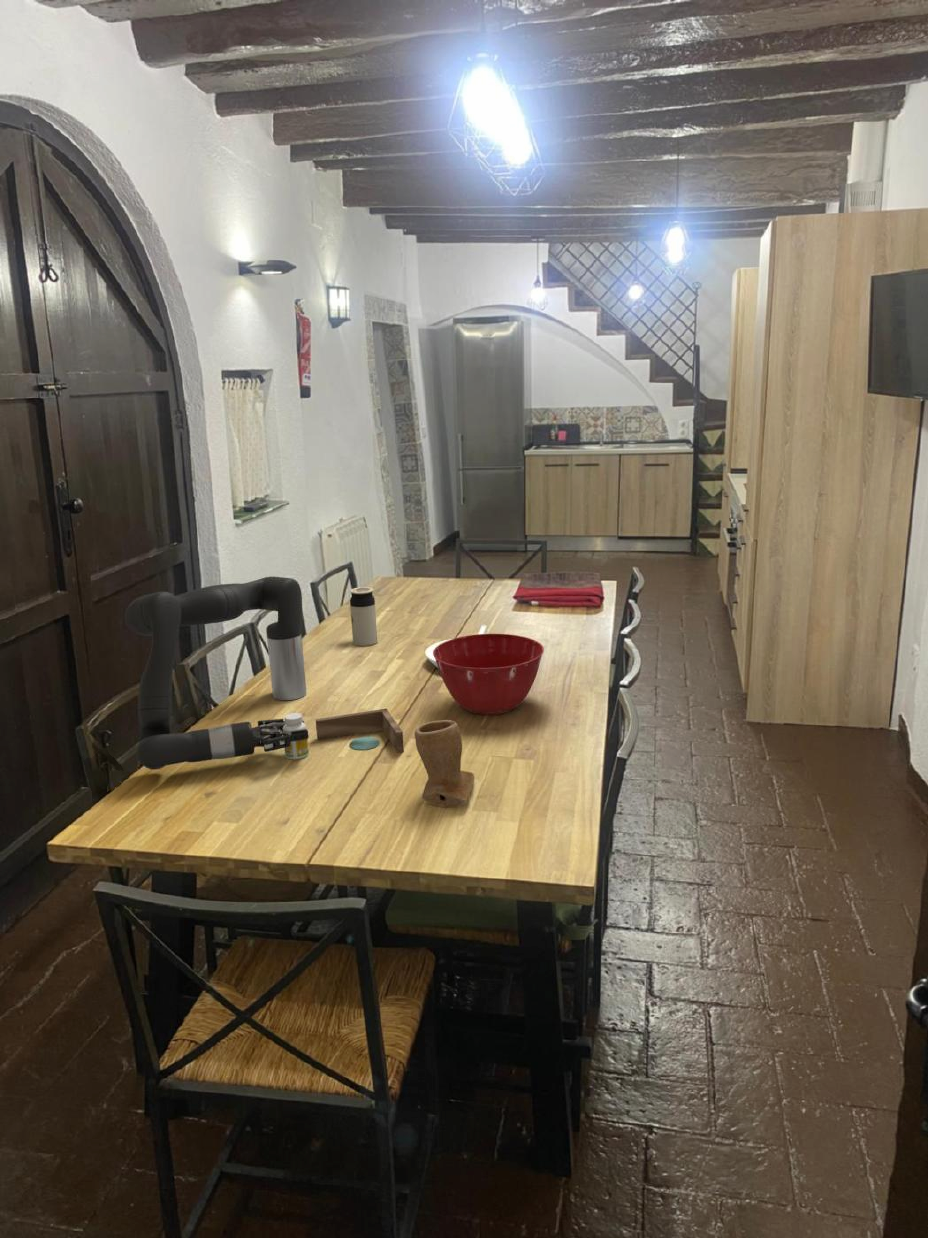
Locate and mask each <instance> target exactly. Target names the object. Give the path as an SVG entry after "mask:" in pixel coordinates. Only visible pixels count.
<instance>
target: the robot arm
mask: <svg viewBox="0 0 928 1238" xmlns="http://www.w3.org/2000/svg"><path fill="white" fill-rule="evenodd" d="M253 610H254V611H255V610H263V611H264V610H265V611H273V612H277V621H274V622H273V623H270V624H269V625H267V627H266V630H265V631H266V641H267V642H266V643H267V651H268V659H269V661H268V663H269V670H270V671H269V672H270V680H271V681H270V682H271V683H270V684H271V692H272V697H273V699H275V700H278V701H292V700H297V699H300V698H303V697H305V696H306V694H307V692H308V691H307V684H306V683H307V682H306V672H305V670H306V669H305V659H304V649H303V638H302V625H303V617H304V616H303V594H302V589H301V586H300V583H299V582H298V581H297V580H296V579H294V578H290V577H285V576H284V577H283V576H266V577H263V578H262V577H261V578H259V579H256V580H252V581H250V582H248V581H247V582H244V583H226V584H223V583H222V584H215V585H208V586H204V587H200V588H197V589H193V590H190V591H187V592H183V593H180V594H178V595H174V594H173V593H171V592H169V591H156V592H153V593H150V594H146V595H142V596H139V597H137V598H135V599H134V600H132V601H131V603H129V605H128V606H127V608H126V610H125V612H124V620H125V623H126V625H127V627H128V628H129V629H130V630H131V631H132V632H133V633H135V634H138V635H140V636H146V637H149V636H150V637H152V638H151V639H152V640H151V648H150V653H149V657H148V660H147V663H146V666H145V668H144V670H143V673H142V675H141V679H140V682H139V687H138V694H137V695H138V698H137V700H138V701H137V702H138V703H137V710H138V711H137V712H138V713H137V715H138V716H137V717H138V723H139V744H138V745H137V748H136V757H137V759H138V762H139V763H140V764H141V765H142V766H144V767H145V768H147V769H149V770H152V771H154V770H155V771H156V770H160V769H162V768H165V767H166V766H169V765H176V764H181V763H199V762H200V763H201V762H206V761H212V760H224V759H225V760H226V759H231V758H238V757H244V756H250V755H254V753H255V748H262V747H263V751H264V752H265V753H268V752H271V751H272V752H273V751H275V750H276V751H277V750H281V749H285V747H289V746H290V743H292V741H298V740H305V739H307V740H308V739H309V731H308V729H307V728H306V729H303V730H297V731H291V732H283V726H284V725H285V724H286V723H285V719H283V718H276V719H265V720H264V719H262V720H257V726H254V727H252V723H251V722H250V721H243V722H235V723H229V724H222V725H221V724H220V725H217V726H213V727H210V728H204V729H203V728H202V729H196V730H190V731H188V732H186V731H185V732H175V733H174V732H173V733H172V730H171V720H172V685H173V684H172V683H173V673H174V665H175V658H176V653H177V647H178V646H177V645H178V640H179V634H180V627H184V626H198V625H199V626H200V625H210V624H218V623H222V622H229V621H232V620H236V619H238V618H240V617H241V616H242V615H243V613H245V612H246V611H247V612H248V611H253ZM302 722H303V723H304V724H305V722H304V720H303V721H302Z"/></svg>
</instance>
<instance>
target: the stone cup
mask: <svg viewBox="0 0 928 1238" xmlns="http://www.w3.org/2000/svg"><path fill="white" fill-rule="evenodd" d="M414 740H415V746H416V750H417V752H418V754H419V757H420V759H421V761H422V763H423V766H424V768H425V770H426V774H427V778H428V779H427V781H426V783H425V785H424V789H423V792H422V795H421V799H422V800H423V801H426V802H427V803H429V804H431V805H434V806H437V807H440V808H456V807H460V806H464V805H465V804H466V803H467V802H468V799H469V797H470V794H471V792H472V790H473V787H474V784H475V783H474V782H475V774H474V773H473V772H471V771H464V770H461V767H462V765H461V764H462V763H461V762H462V752H463V742H462V741H463V740H462V734H461V730H460V727H459V725H458V723H457V722H456V721H454V720H449V719H443V720H434V721H430V722H426V723H422V724H420V725H419V726H417V728H415V730H414Z"/></svg>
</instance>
